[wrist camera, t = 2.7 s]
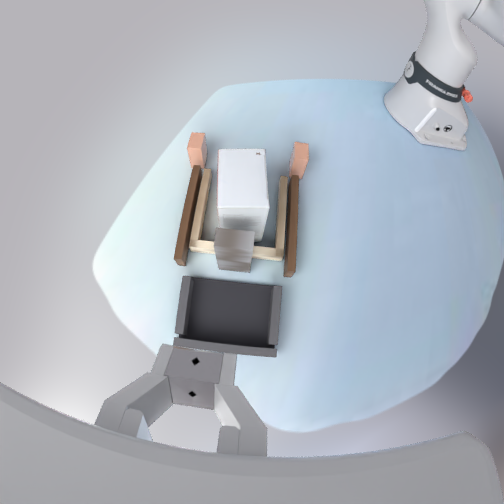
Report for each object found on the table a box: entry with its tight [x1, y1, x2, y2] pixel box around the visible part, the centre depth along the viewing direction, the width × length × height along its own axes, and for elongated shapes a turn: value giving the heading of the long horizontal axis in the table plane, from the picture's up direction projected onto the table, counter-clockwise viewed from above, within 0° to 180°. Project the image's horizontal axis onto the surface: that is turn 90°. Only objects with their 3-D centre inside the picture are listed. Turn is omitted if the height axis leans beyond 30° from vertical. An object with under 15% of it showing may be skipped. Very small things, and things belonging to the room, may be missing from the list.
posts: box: [187, 133, 309, 179], centre depth 41 cm, size 17×3×5 cm, turn 84°
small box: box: [217, 149, 270, 242], centre depth 36 cm, size 8×6×10 cm
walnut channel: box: [174, 165, 299, 277], centre depth 39 cm, size 15×14×3 cm
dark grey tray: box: [173, 276, 282, 357], centre depth 35 cm, size 12×9×3 cm
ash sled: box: [189, 168, 288, 273], centre depth 36 cm, size 12×14×9 cm
